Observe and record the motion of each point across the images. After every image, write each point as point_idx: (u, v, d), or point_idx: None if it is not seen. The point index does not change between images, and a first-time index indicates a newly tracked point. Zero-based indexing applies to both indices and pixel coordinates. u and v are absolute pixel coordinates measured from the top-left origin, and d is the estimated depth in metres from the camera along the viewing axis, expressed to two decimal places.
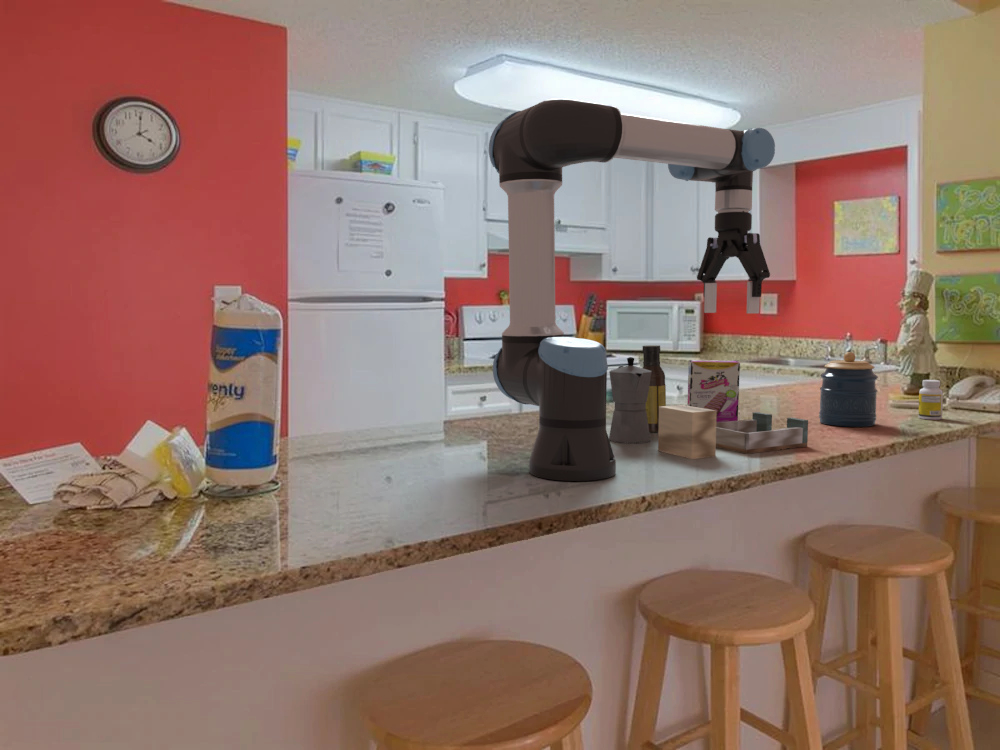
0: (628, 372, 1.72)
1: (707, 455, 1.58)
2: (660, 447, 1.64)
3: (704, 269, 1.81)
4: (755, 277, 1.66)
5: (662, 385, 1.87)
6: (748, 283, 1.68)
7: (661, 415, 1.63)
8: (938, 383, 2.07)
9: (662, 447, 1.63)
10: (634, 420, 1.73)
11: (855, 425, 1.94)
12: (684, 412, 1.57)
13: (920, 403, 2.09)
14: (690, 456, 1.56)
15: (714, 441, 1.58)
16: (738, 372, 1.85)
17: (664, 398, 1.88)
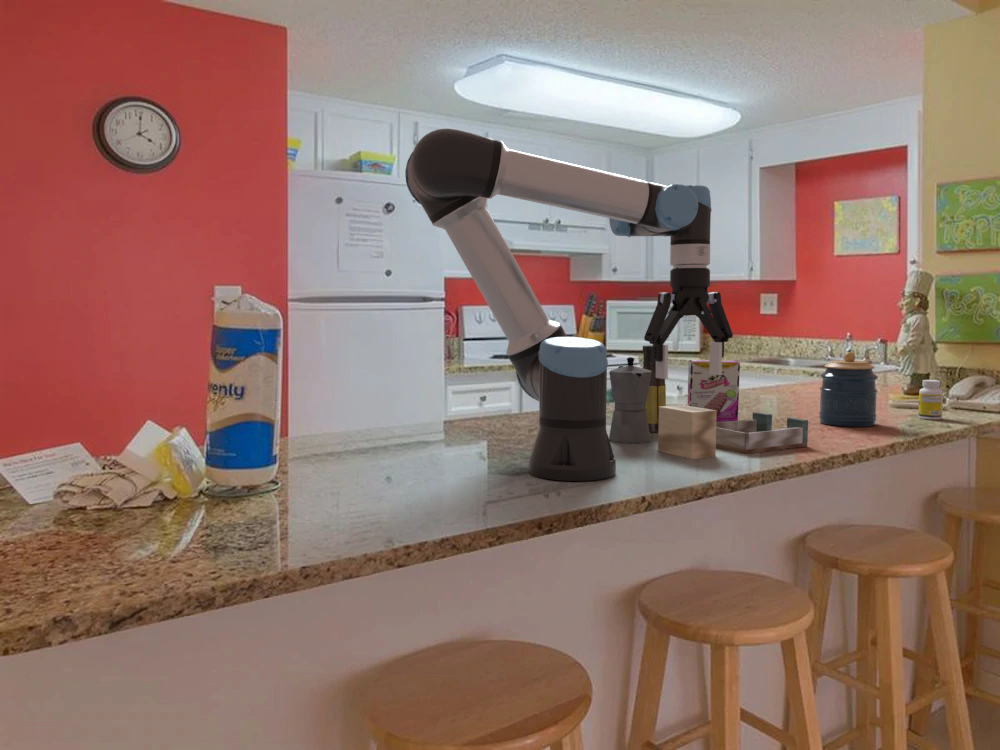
0: (628, 372, 1.72)
1: (707, 455, 1.58)
2: (660, 447, 1.64)
3: None
4: None
5: (662, 385, 1.87)
6: None
7: (661, 415, 1.63)
8: (938, 383, 2.07)
9: (662, 447, 1.63)
10: (634, 420, 1.73)
11: (855, 425, 1.94)
12: (684, 412, 1.57)
13: (920, 403, 2.09)
14: (690, 456, 1.56)
15: (714, 441, 1.58)
16: (738, 372, 1.85)
17: (664, 398, 1.88)
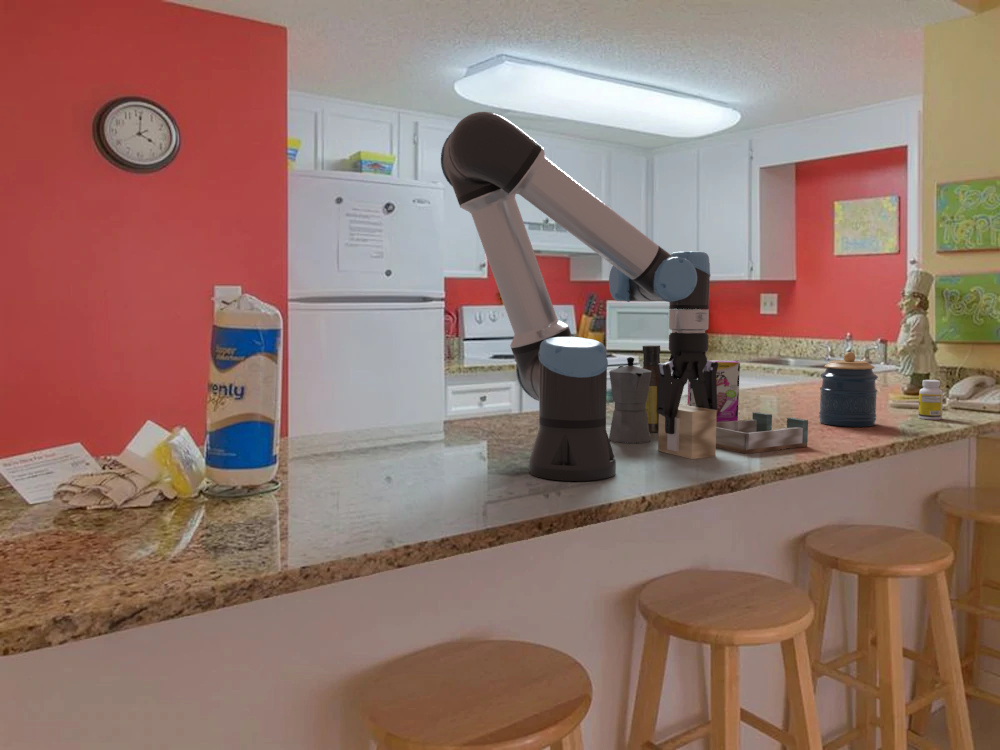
0: (628, 372, 1.72)
1: (707, 455, 1.58)
2: (660, 447, 1.64)
3: None
4: None
5: None
6: None
7: (661, 415, 1.63)
8: (938, 383, 2.07)
9: (662, 447, 1.63)
10: (634, 420, 1.73)
11: (855, 425, 1.94)
12: (684, 412, 1.57)
13: (920, 403, 2.09)
14: (690, 456, 1.56)
15: (714, 440, 1.58)
16: (738, 372, 1.86)
17: None
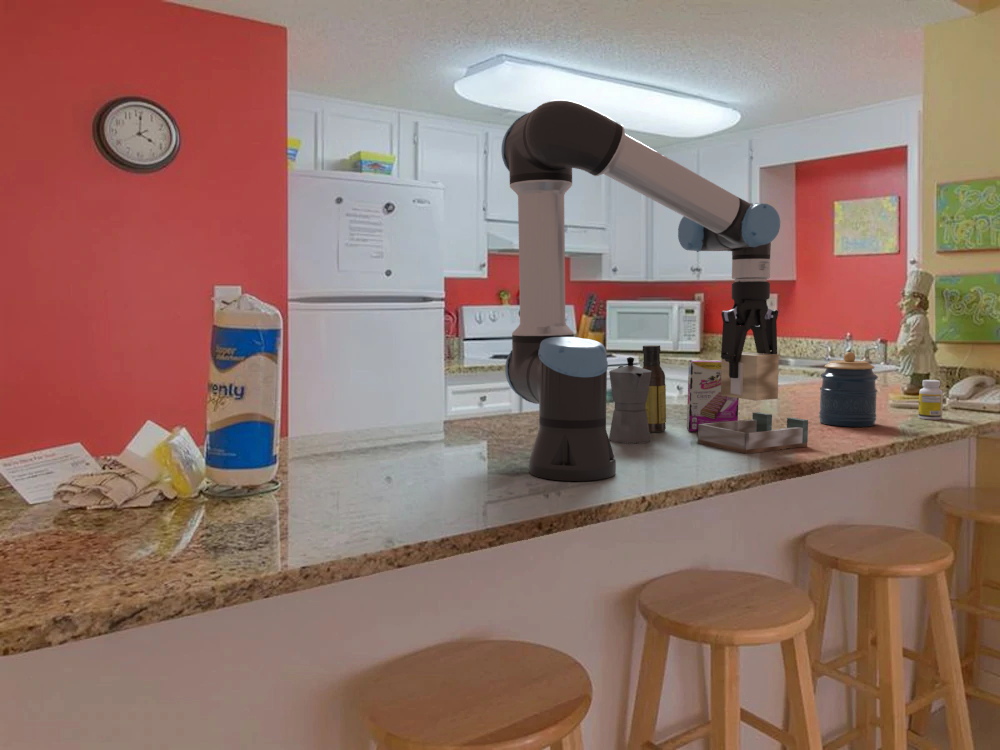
0: (628, 372, 1.72)
1: (770, 397, 1.66)
2: (723, 392, 1.72)
3: None
4: (728, 359, 1.67)
5: (662, 385, 1.87)
6: None
7: (724, 361, 1.71)
8: (938, 383, 2.07)
9: (725, 391, 1.71)
10: (634, 420, 1.73)
11: (855, 425, 1.94)
12: (748, 356, 1.65)
13: (920, 403, 2.09)
14: (754, 397, 1.64)
15: (777, 384, 1.66)
16: None
17: (664, 398, 1.88)
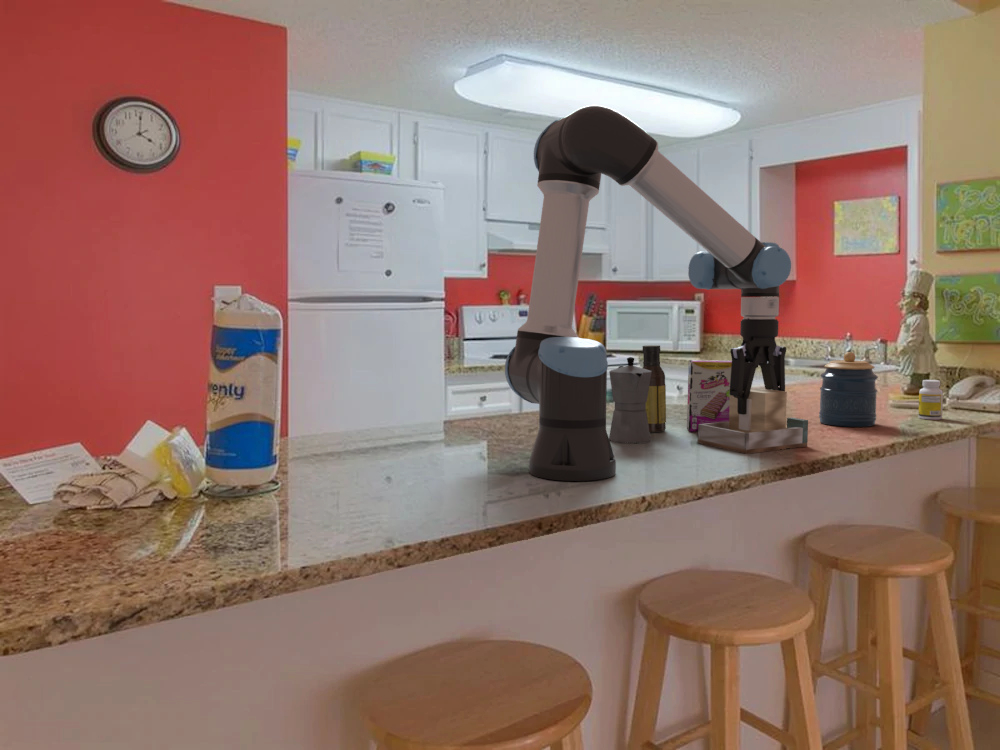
0: (628, 372, 1.72)
1: None
2: (731, 427, 1.74)
3: None
4: None
5: (662, 385, 1.87)
6: None
7: (733, 397, 1.73)
8: (938, 383, 2.07)
9: (733, 427, 1.73)
10: (634, 420, 1.73)
11: (855, 425, 1.94)
12: (756, 393, 1.67)
13: (920, 403, 2.09)
14: None
15: (785, 420, 1.68)
16: None
17: (664, 398, 1.88)
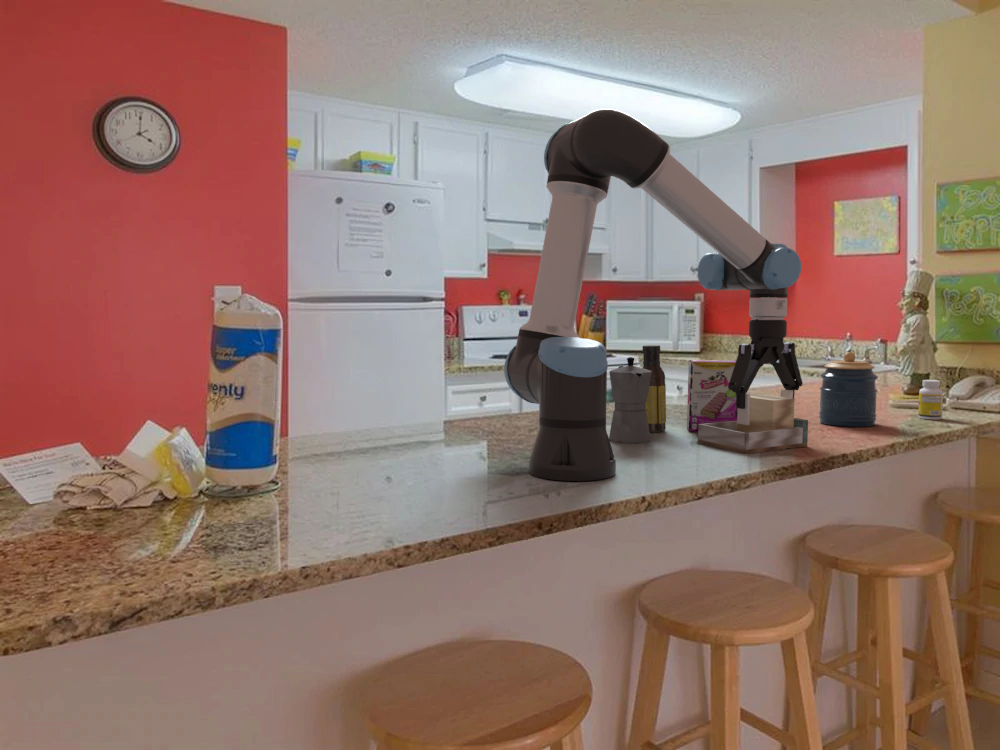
0: (628, 372, 1.72)
1: None
2: None
3: None
4: None
5: (662, 385, 1.87)
6: None
7: None
8: (938, 383, 2.07)
9: None
10: (634, 420, 1.73)
11: (855, 425, 1.94)
12: (764, 400, 1.68)
13: (920, 403, 2.09)
14: None
15: (792, 427, 1.69)
16: None
17: (664, 398, 1.88)
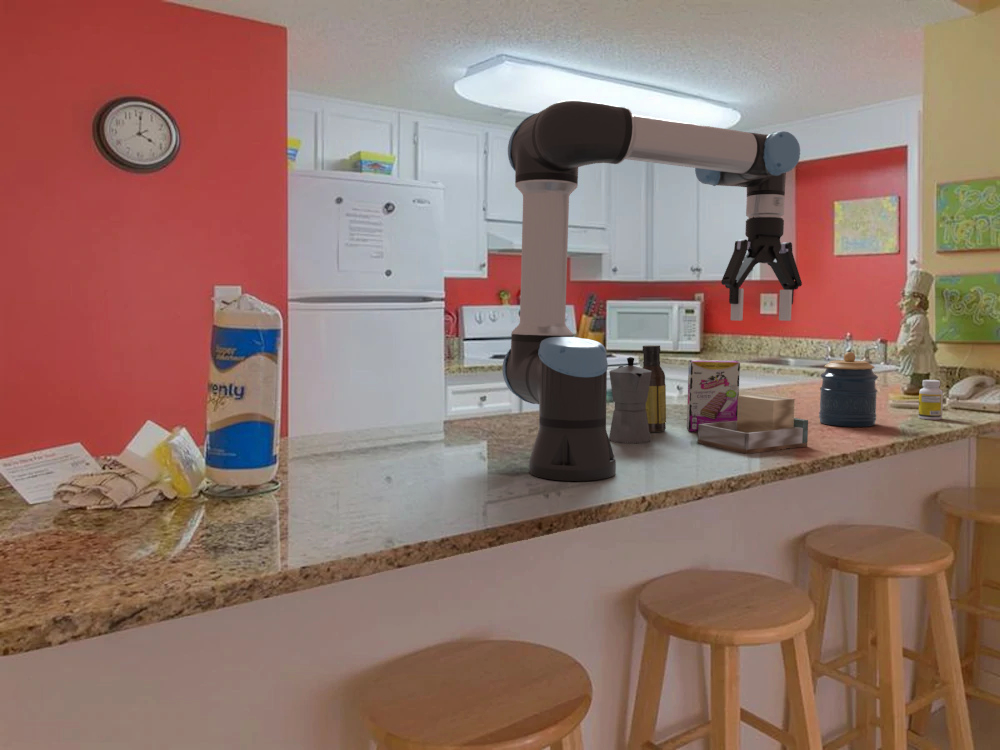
0: (628, 372, 1.72)
1: None
2: None
3: None
4: None
5: (662, 385, 1.87)
6: None
7: (740, 404, 1.74)
8: (938, 383, 2.07)
9: None
10: (634, 420, 1.73)
11: (855, 425, 1.94)
12: (764, 400, 1.68)
13: (920, 403, 2.09)
14: None
15: (792, 427, 1.69)
16: (738, 372, 1.86)
17: (664, 398, 1.88)
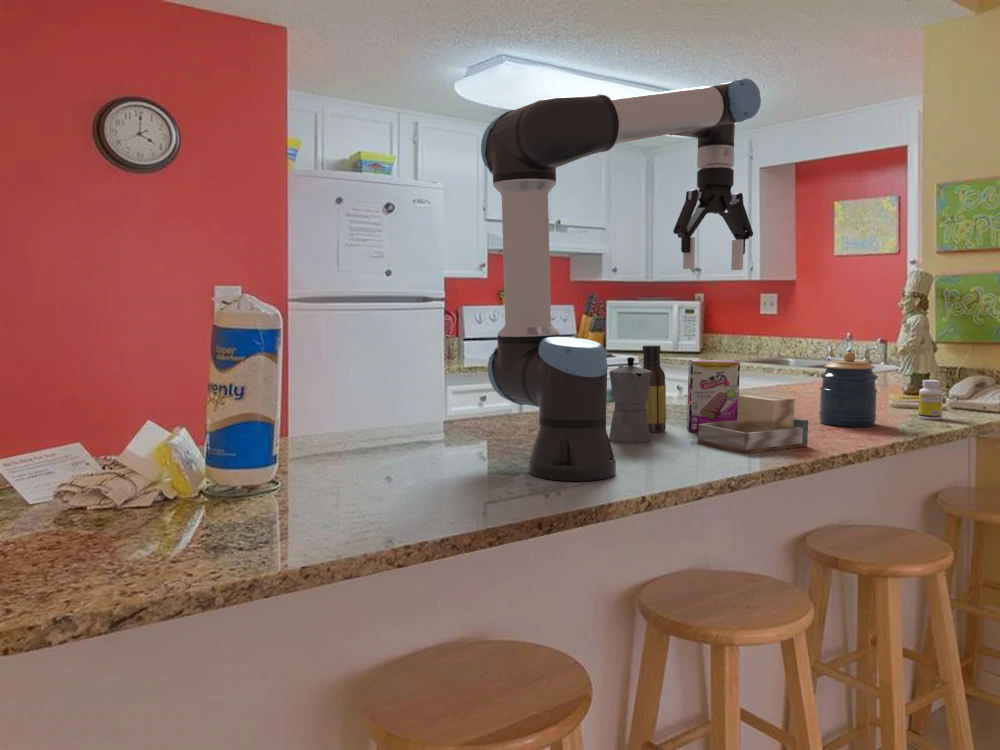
0: (628, 372, 1.72)
1: None
2: None
3: None
4: None
5: (662, 385, 1.87)
6: None
7: (740, 404, 1.74)
8: (938, 383, 2.07)
9: None
10: (634, 420, 1.73)
11: (855, 425, 1.94)
12: (764, 400, 1.68)
13: (920, 403, 2.09)
14: None
15: (792, 427, 1.69)
16: (738, 372, 1.85)
17: (664, 398, 1.88)
